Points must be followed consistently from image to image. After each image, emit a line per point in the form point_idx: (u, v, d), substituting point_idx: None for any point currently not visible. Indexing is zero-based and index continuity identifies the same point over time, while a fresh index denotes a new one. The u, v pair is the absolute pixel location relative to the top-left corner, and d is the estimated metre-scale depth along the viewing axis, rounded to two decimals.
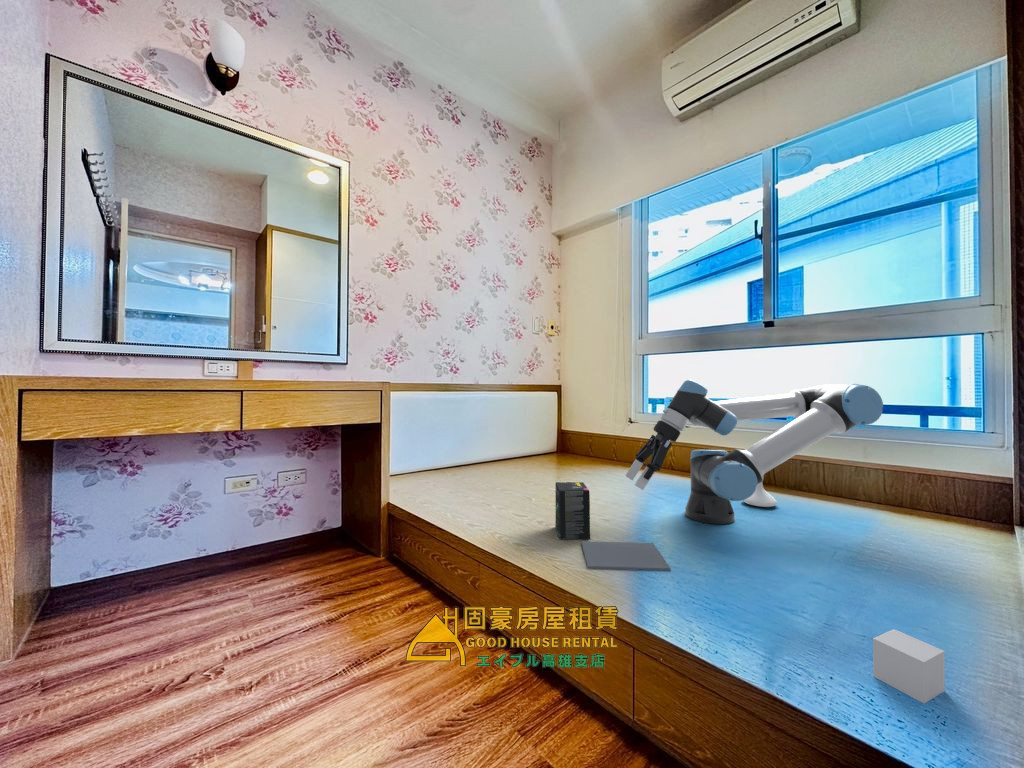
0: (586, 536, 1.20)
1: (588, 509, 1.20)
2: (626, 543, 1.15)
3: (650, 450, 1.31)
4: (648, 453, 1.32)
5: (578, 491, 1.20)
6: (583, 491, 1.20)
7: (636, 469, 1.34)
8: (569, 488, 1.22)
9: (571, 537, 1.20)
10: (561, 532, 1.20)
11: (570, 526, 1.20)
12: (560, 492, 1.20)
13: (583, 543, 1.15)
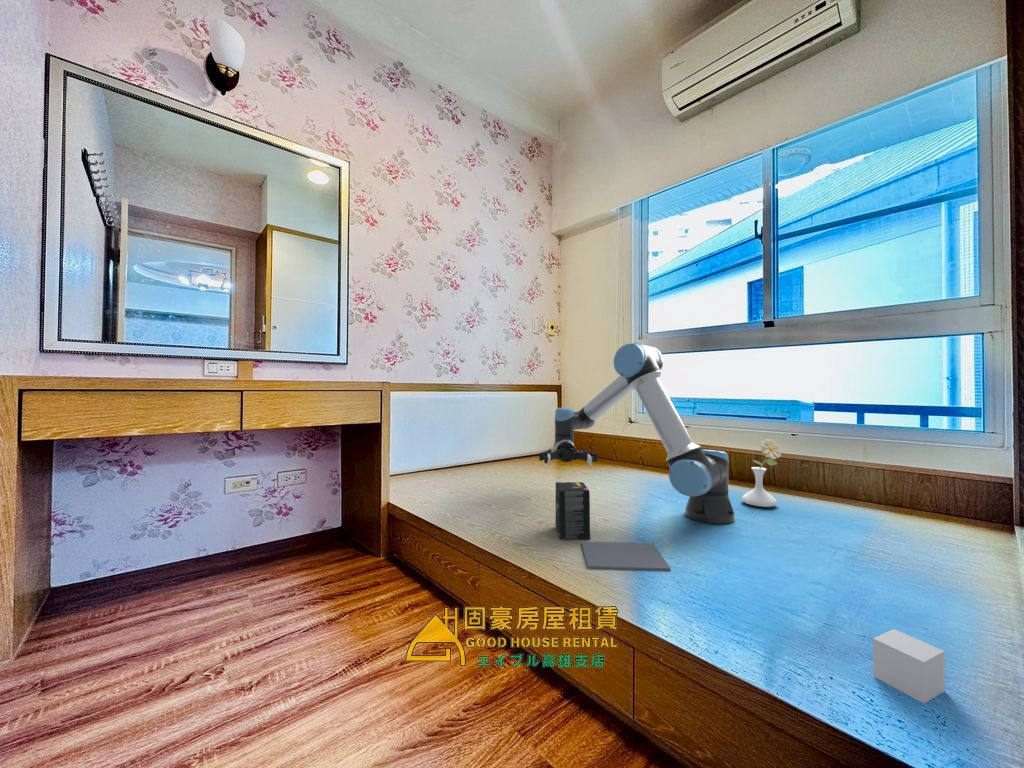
0: (586, 536, 1.20)
1: (588, 509, 1.20)
2: (626, 543, 1.15)
3: (576, 455, 1.46)
4: (580, 455, 1.44)
5: (578, 491, 1.20)
6: (583, 491, 1.20)
7: (588, 458, 1.38)
8: (569, 488, 1.22)
9: (571, 537, 1.20)
10: (561, 532, 1.20)
11: (570, 526, 1.20)
12: (560, 492, 1.20)
13: (583, 543, 1.15)
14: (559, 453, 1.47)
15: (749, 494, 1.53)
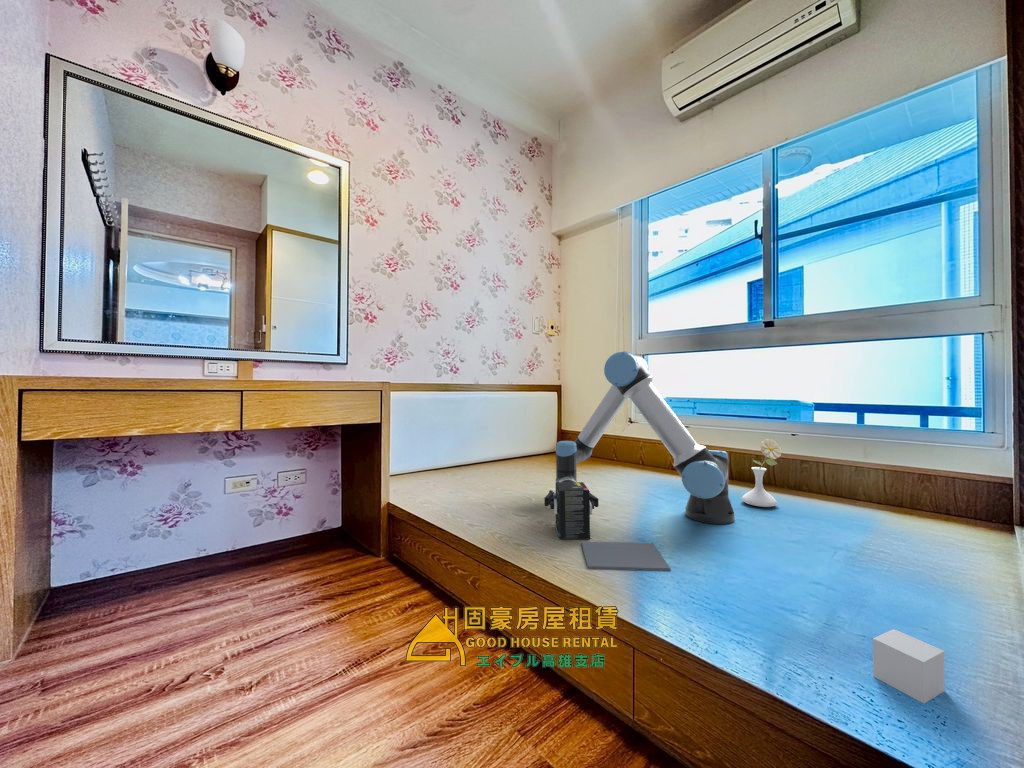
0: (585, 536, 1.20)
1: (588, 509, 1.20)
2: (626, 543, 1.15)
3: None
4: None
5: (578, 491, 1.20)
6: (583, 491, 1.20)
7: None
8: (569, 488, 1.22)
9: (571, 537, 1.20)
10: (561, 532, 1.20)
11: (570, 526, 1.20)
12: (560, 492, 1.20)
13: (583, 543, 1.15)
14: None
15: (749, 494, 1.53)
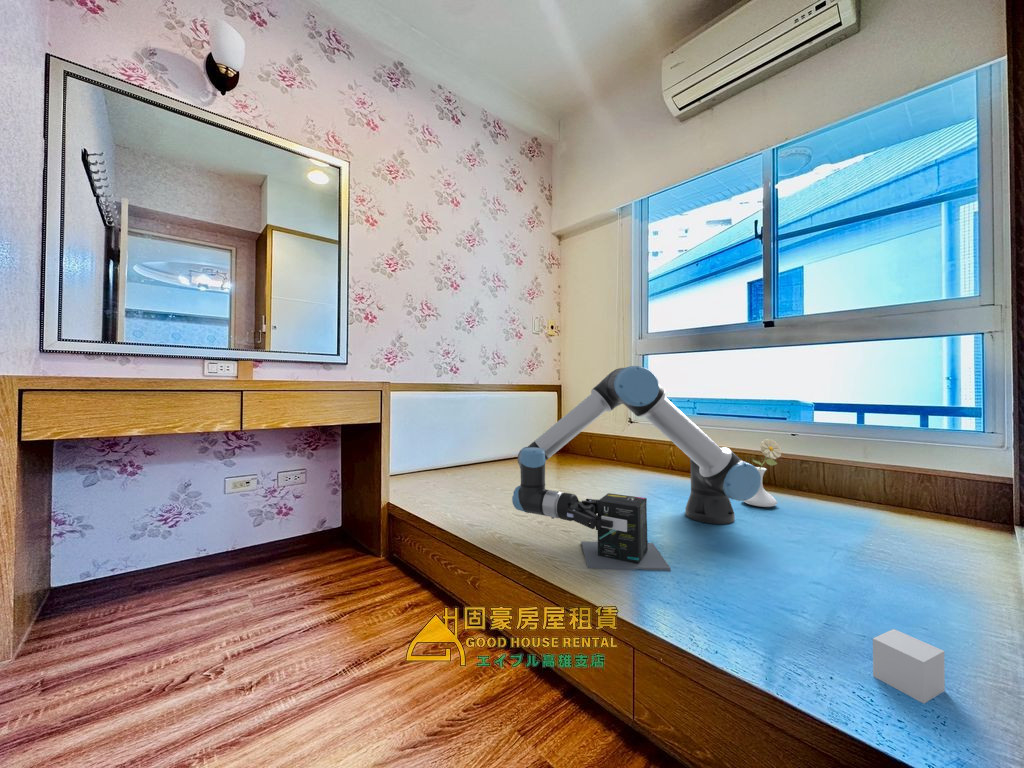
0: (646, 549, 1.08)
1: (646, 519, 1.09)
2: None
3: None
4: None
5: (644, 502, 1.06)
6: (645, 500, 1.08)
7: None
8: (634, 501, 1.05)
9: (642, 556, 1.04)
10: (639, 555, 1.02)
11: (642, 544, 1.04)
12: (638, 508, 1.02)
13: (583, 543, 1.15)
14: None
15: None
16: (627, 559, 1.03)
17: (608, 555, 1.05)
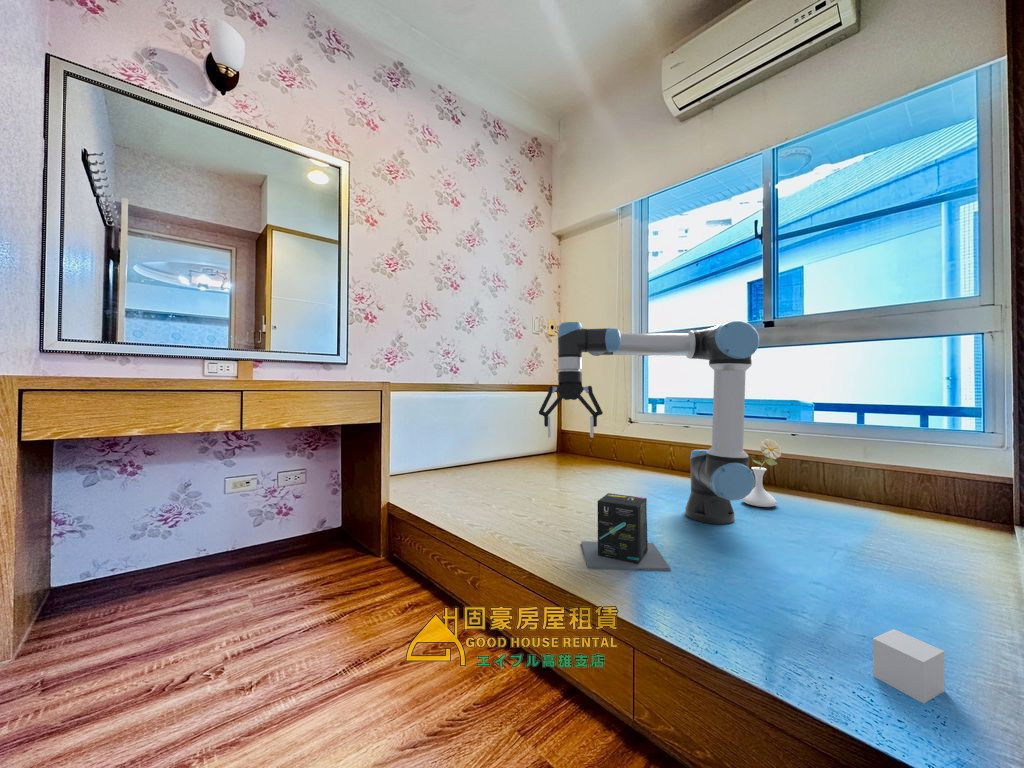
0: (646, 549, 1.08)
1: (646, 519, 1.09)
2: None
3: None
4: None
5: (644, 502, 1.06)
6: (645, 500, 1.08)
7: (590, 425, 1.30)
8: (634, 501, 1.05)
9: (642, 556, 1.04)
10: (639, 555, 1.02)
11: (642, 544, 1.04)
12: (638, 508, 1.02)
13: (583, 543, 1.15)
14: None
15: (749, 494, 1.53)
16: (627, 559, 1.03)
17: (608, 555, 1.05)
